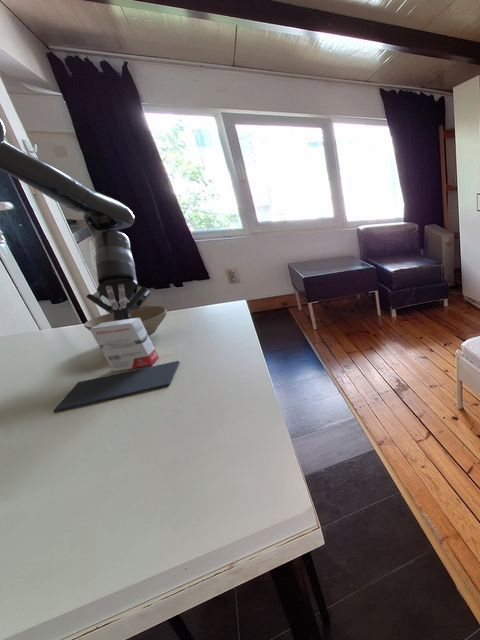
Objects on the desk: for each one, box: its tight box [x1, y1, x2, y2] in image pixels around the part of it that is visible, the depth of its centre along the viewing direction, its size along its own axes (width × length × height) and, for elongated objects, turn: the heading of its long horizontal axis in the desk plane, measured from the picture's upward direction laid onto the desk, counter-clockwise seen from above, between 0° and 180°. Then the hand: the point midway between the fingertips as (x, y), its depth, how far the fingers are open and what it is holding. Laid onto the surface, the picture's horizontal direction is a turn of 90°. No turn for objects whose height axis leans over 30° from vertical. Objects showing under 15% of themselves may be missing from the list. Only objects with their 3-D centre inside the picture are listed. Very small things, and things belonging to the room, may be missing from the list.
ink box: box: [89, 318, 160, 372], centre depth 92 cm, size 8×5×12 cm, turn 109°
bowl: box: [83, 305, 168, 337], centre depth 107 cm, size 18×18×8 cm
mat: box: [53, 360, 180, 413], centre depth 85 cm, size 20×13×1 cm, turn 117°
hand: (123, 324), depth 94 cm, fingers closed
